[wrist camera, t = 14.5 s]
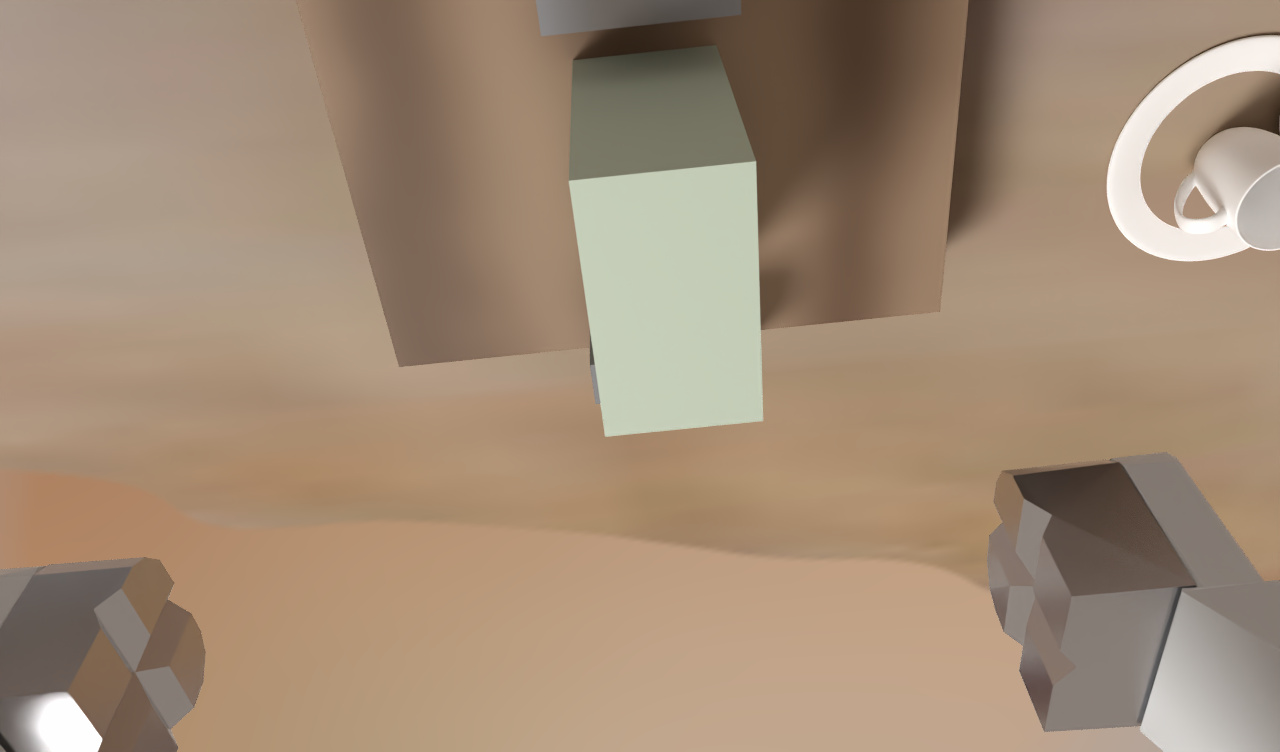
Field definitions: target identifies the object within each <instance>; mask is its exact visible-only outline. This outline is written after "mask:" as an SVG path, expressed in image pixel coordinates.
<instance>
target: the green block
mask: <svg viewBox="0 0 1280 752" xmlns="http://www.w3.org/2000/svg"><path fill="white" fill-rule="evenodd" d="M569 187H570V194H571V201H572V208H573V215H574V222H575V229H576V236H577V243H578V250H579V257H580V264H581V271H582V278H583V285H584V292H585V299H586V306H587V313H588V320H589V327H590V334H591V341H592V348H593V355H594V362H595V369H596V376H597V383H598V390H599V397H600V404H601V411H602V418H603V425H604V431H605V437H607V436H617V435H627V434H637V433H647V432H657V431H667V430H677V429H687V428H697V427H707V426H717V425H727V424H737V423H747V422H757V421H763V397H762V360H761V323H760V286H759V249H758V212H757V175H756V159H755V157H754V154H753V151H752V148H751V145H750V142H749V139H748V136H747V133H746V130H745V127H744V124H743V121H742V119H741V116H740V113H739V110H738V107H737V104H736V101H735V98H734V95H733V92H732V89H731V86H730V84H729V81H728V78H727V75H726V72H725V69H724V66H723V63H722V60H721V57H720V54H719V51H718V48H717V46H716V45H712V46H702V47H693V48H683V49H674V50H664V51H655V52H646V53H636V54H627V55H617V56H608V57H598V58H589V59H580V60H573V63H572V93H571V123H570V153H569Z"/></svg>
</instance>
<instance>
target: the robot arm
mask: <svg viewBox="0 0 1280 752" xmlns="http://www.w3.org/2000/svg"><path fill="white" fill-rule="evenodd" d="M994 504H995V506H996V508H997V511H998V513H999V515H1000V518H1001V520H1002V523H1001V524H1000V525H999V526H998V527H997V528H996V529H995V530H994V531H993V532H992V533H991V534H990V535H989V545H988V556H987V565H988V576H989V586H990V591H991V595H992V599H993V603H994V606H995V610H996V613H997V615H998V618H999V621H1000V623H1001V626H1002V629H1003V631H1004V632H1005V633H1006V634H1008V635H1009V636H1010V637H1012V638H1013V639H1014V640H1016V641H1017V642H1018V643H1020V644H1021V645H1023V651H1022V657H1021V664H1020V670H1019V671H1020V674H1021V676H1022V679H1023V681H1024V683H1025V686H1026V688H1027V691H1028V693H1029V696H1030V698H1031V701H1032V703H1033V706H1034V708H1035V710H1036V713H1037V715H1038V718H1039V720H1040V723H1041V725H1042V728H1043V730H1044V731H1045V732H1048V731H1049V732H1050V731H1066V730H1083V729H1099V728H1115V727H1129V726H1130V727H1131V726H1141V728H1140V731H1141V732H1142V733H1143V734H1144V735H1145V736H1147V737H1148V738H1149V739H1150V740H1151V741H1152V742H1154V743H1155V744H1156V745H1157V746H1158V747H1159V748H1160V749H1161V750H1163V751H1164V752H1280V580H1274V581H1264V580H1263V578H1262V577H1261V576H1260V574H1259V573H1258V571H1257V570H1256V569H1255V567H1254V566H1253V564H1252V563H1251V562H1250V560H1249V559H1248V557H1247V556H1246V555H1245V553H1244V552H1243V550H1242V549H1241V548H1240V546H1239V545H1238V543H1237V542H1236V541H1235V539H1234V538H1233V536H1232V535H1231V533H1230V532H1229V531H1228V529H1227V528H1226V526H1225V525H1224V524H1223V522H1222V521H1221V519H1220V518H1219V517H1218V515H1217V514H1216V512H1215V511H1214V510H1213V508H1212V507H1211V505H1210V504H1209V503H1208V501H1207V500H1206V498H1205V497H1204V496H1203V494H1202V493H1201V491H1200V490H1199V488H1198V487H1197V486H1196V484H1195V483H1194V481H1193V480H1192V479H1191V477H1190V476H1189V474H1188V473H1187V472H1186V470H1185V469H1184V467H1183V466H1182V465H1181V463H1180V462H1179V460H1178V459H1177V458H1175V457H1174V456H1172V455H1170V454H1169V453H1167V452H1163V453H1154V454H1146V455H1137V456H1128V457H1119V458H1111V459H1110V460H1096V461H1087V462H1078V463H1069V464H1059V465H1050V466H1041V467H1032V468H1023V469H1014V470H1004V471H1002V472H1001V474H1000V476H999V478H998V480H997V482H996V489H995V495H994ZM173 585H174V582H173V580H172V579H171V577H170V576H169V574H168V572H167V571H166V569H165V568H164V566H163V565H162V563H161V561H160V560H157V559H151V558H145V557H144V558H130V559H118V560H104V561H91V562H78V563H65V564H51V565H48V566H41V567H27V568H12V569H0V752H177V750H178V746H177V744H176V741H175V738H174V736H173V734H172V731H171V728H172V727H173V726H174V725H175V724H177V723H178V722H179V721H180V720H181V719H182V718H183V717H184V716H185V715H186V714H187V713H188V712H190V711H191V710H192V709H193V708H194V706H195V703H196V700H197V698H198V695H199V692H200V689H201V686H202V684H203V679H204V664H205V649H204V644H203V639H202V635H201V631H200V629H199V627H198V625H197V623H196V621H195V619H194V618H193V616H192V614H191V613H189V612H188V611H186V610H184V609H183V608H181V607H179V606H178V605H176V604H174V603H172V602H171V601H169V600H168V597H169V595H170V592H171V590H172V587H173Z"/></svg>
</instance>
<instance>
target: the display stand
mask: <svg viewBox="0 0 1280 752" xmlns="http://www.w3.org/2000/svg"><path fill="white" fill-rule="evenodd" d="M296 2H297V6H298V10H299V13H300V17H301V20H302V24H303V27H304V31H305V34H306V38H307V41H308V45H309V49H310V52H311V56H312V59H313V63H314V66H315V70H316V73H317V77H318V80H319V84H320V88H321V91H322V95H323V98H324V102H325V105H326V109H327V112H328V116H329V119H330V123H331V127H332V130H333V134H334V137H335V141H336V144H337V148H338V151H339V155H340V159H341V162H342V166H343V169H344V173H345V176H346V180H347V183H348V187H349V190H350V194H351V198H352V201H353V205H354V208H355V212H356V215H357V219H358V222H359V226H360V229H361V233H362V237H363V240H364V244H365V247H366V251H367V254H368V258H369V261H370V265H371V268H372V272H373V276H374V279H375V283H376V286H377V290H378V293H379V297H380V300H381V304H382V307H383V311H384V315H385V318H386V322H387V325H388V329H389V332H390V336H391V339H392V343H393V346H394V350H395V354H396V357H397V361H398V364H399V367H403V366H413V365H423V364H433V363H442V362H452V361H462V360H472V359H482V358H491V357H501V356H511V355H521V354H530V353H540V352H550V351H560V350H569V349H579V348H589V347H590V369H591V376H592V382H593V389H594V396H595V403H596V404H600V397H599V390H598V383H597V376H596V369H595V362H594V355H593V348H592V341H591V334H590V327H589V320H588V313H587V306H586V299H585V292H584V285H583V278H582V271H581V264H580V257H579V250H578V243H577V236H576V229H575V222H574V215H573V208H572V201H571V194H570V187H569V153H570V123H571V93H572V63H573V60H580V59H589V58H598V57H608V56H617V55H627V54H636V53H646V52H655V51H664V50H674V49H683V48H693V47H702V46H712V45H716V46H717V48H718V51H719V54H720V57H721V60H722V63H723V66H724V69H725V72H726V75H727V78H728V81H729V84H730V86H731V89H732V92H733V95H734V98H735V101H736V104H737V107H738V110H739V113H740V116H741V119H742V121H743V124H744V127H745V130H746V133H747V136H748V139H749V142H750V145H751V148H752V151H753V154H754V157H755V159H756V175H757V212H758V249H759V286H760V323H761V330H765V329H775V328H784V327H794V326H804V325H814V324H824V323H833V322H843V321H853V320H863V319H872V318H882V317H892V316H902V315H911V314H921V313H931V312H940V307H941V296H942V285H943V274H944V263H945V252H946V242H947V231H948V220H949V209H950V198H951V187H952V177H953V166H954V155H955V144H956V133H957V122H958V111H959V101H960V90H961V79H962V68H963V57H964V46H965V36H966V25H967V14H968V3H969V0H296Z"/></svg>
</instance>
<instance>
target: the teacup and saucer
mask: <svg viewBox="0 0 1280 752" xmlns="http://www.w3.org/2000/svg"><path fill="white" fill-rule="evenodd" d="M1246 71H1269V72H1274V73H1278V74H1280V35H1263V36H1254V37H1248V38H1243V39H1239V40H1235V41H1231V42H1228V43H1225V44H1222V45H1220V46H1217V47H1215V48H1212V49H1210V50H1208V51H1206V52H1204V53H1202V54H1200V55H1198V56H1196V57H1194V58H1193V59H1191V60H1189V61H1188V62H1186V63H1185V64H1183V65H1182V66H1180V67H1179V68H1177V69H1176V70H1175V71H1173V72H1172V73H1171V74H1169V75H1168V76H1167V77H1166V78H1164V79H1163V80H1162V81H1161V82H1160V83H1159V84H1158V85H1157V86H1156V87H1155V88H1154V89H1153V90H1152V91H1151V92H1150V93H1149V94H1148V95H1147V96H1146V97H1145V98H1144V99H1143V100H1142V102H1141V103H1140V104H1139V105H1138V107H1137V108H1136V109H1135V111H1134V112H1133V113H1132V115H1131V116H1130V118H1129V119H1128V121H1127V122H1126V124H1125V126H1124V128H1123V129H1122V131H1121V133H1120V135H1119V137H1118V140H1117V142H1116V144H1115V147H1114V149H1113V152H1112V155H1111V159H1110V163H1109V168H1108V174H1107V198H1108V204H1109V208H1110V211H1111V214H1112V217H1113V219H1114V221H1115V223H1116V225H1117V226H1118V228H1119V229H1120V231H1121V232H1122V233H1123V235H1124V236H1125V237H1126V238H1127V239H1128V240H1129V241H1130V242H1132V243H1133V244H1134V245H1135V246H1137V247H1138V248H1140V249H1142V250H1143V251H1145V252H1147V253H1150V254H1152V255H1155V256H1158V257H1161V258H1165V259H1170V260H1177V261H1201V260H1209V259H1215V258H1219V257H1224V256H1227V255H1231V254H1234V253H1237V252H1239V251H1242V250H1245V249H1247V248H1249V247H1252V248H1255V249H1259V250H1279V249H1280V136H1279V135H1277V134H1274V133H1271V132H1269V131H1266V130H1262V129H1258V128H1251V127H1236V128H1230V129H1226V130H1223V131H1221V132H1219V133H1217V134H1215V135H1214V136H1212V137H1211V138H1210V139H1209V140H1208V141H1206V142H1205V144H1204V145H1203V146H1202V147H1201V149H1200V150H1199V152H1198V154H1197V156H1196V158H1195V162H1194V168H1193V171H1192V172H1191V173H1190V174H1189V175H1187V176H1186V177H1185V179H1184V180H1183V181H1182V183H1181V184H1180V186H1179V188H1178V190H1177V193H1176V196H1175V201H1174V212H1175V218H1176V221H1177V224H1178V225H1179V227H1180V228H1181V229H1179V228H1176V227H1173V226H1170V225H1168V224H1166V223H1164V222H1163V221H1161V220H1160V219H1159V218H1157V217H1156V216H1155V215H1154V214H1153V213H1152V212H1151V210H1150V209H1149V208H1148V206H1147V204H1146V202H1145V200H1144V198H1143V195H1142V191H1141V185H1140V171H1141V164H1142V160H1143V156H1144V153H1145V150H1146V148H1147V146H1148V143H1149V141H1150V139H1151V137H1152V136H1153V134H1154V132H1155V131H1156V129H1157V128H1158V126H1159V125H1160V123H1161V122H1162V121H1163V120H1164V118H1165V117H1166V116H1167V115H1168V114H1169V113H1170V112H1171V111H1172V110H1173V109H1174V108H1175V107H1176V106H1177V105H1178V104H1179V103H1180V102H1181V101H1182V100H1184V99H1185V98H1186V97H1187V96H1189V95H1190V94H1192V93H1193V92H1194V91H1196V90H1198V89H1199V88H1201V87H1203V86H1204V85H1206V84H1208V83H1210V82H1212V81H1214V80H1217V79H1219V78H1222V77H1225V76H1228V75H1231V74H1235V73H1240V72H1246ZM1279 132H1280V117H1279ZM1195 186H1196V187H1197V188H1198V190H1199V191H1200V193H1201V194H1202V196H1203V197H1204V199H1205V200H1206V202H1207V203H1208V205H1209V206H1210V207H1211V208H1212V210H1213V211H1214V212H1215V214H1214V215H1212V216H1210V217H1207V218H1202V219H1191V218H1187V217H1185V216H1183V207H1184V204H1185V202H1186V199H1187V198H1188V196H1189V194H1190V193H1191V191H1192V190H1193V188H1194V187H1195ZM1224 225H1227V226H1226V227H1223V226H1224ZM1221 227H1223V228H1221Z"/></svg>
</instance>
